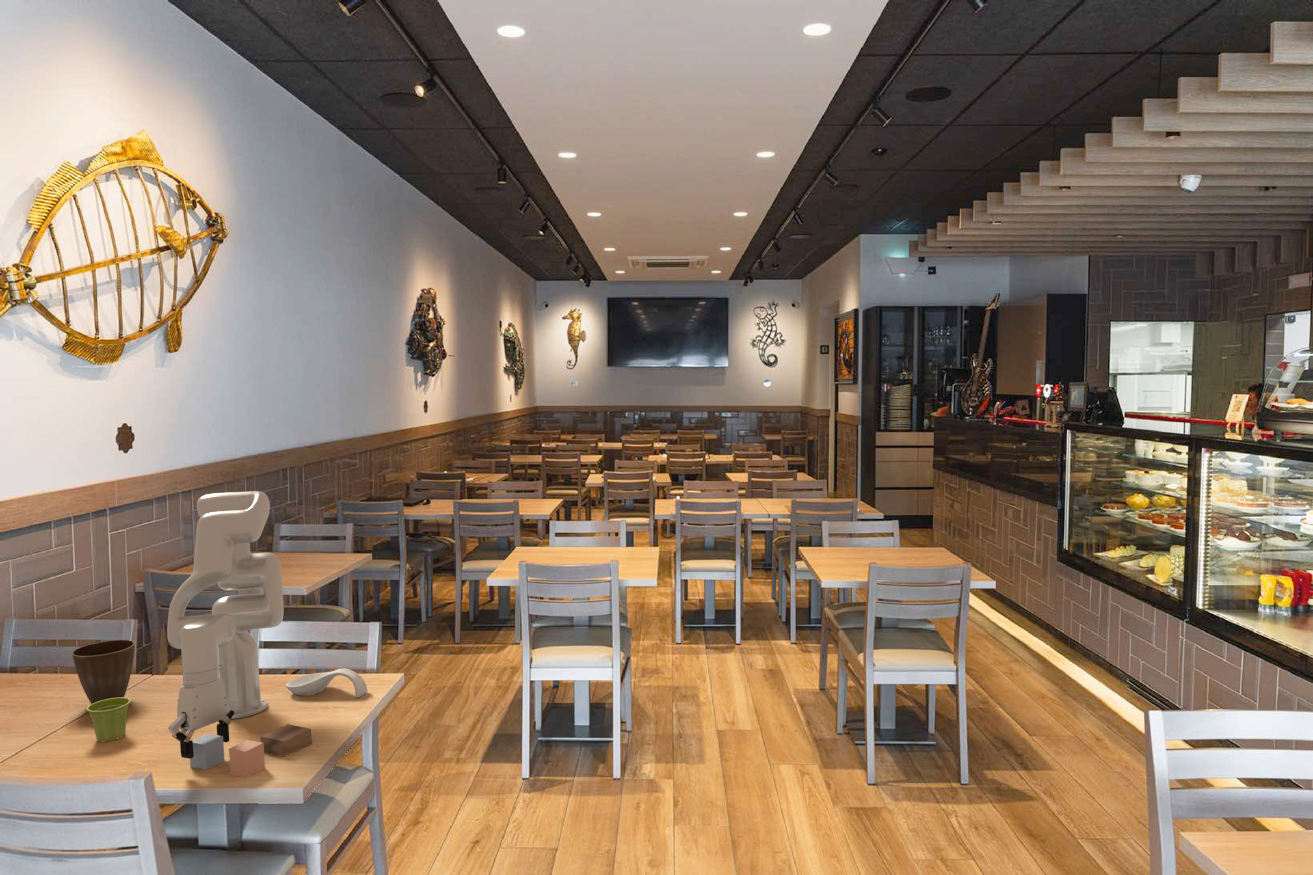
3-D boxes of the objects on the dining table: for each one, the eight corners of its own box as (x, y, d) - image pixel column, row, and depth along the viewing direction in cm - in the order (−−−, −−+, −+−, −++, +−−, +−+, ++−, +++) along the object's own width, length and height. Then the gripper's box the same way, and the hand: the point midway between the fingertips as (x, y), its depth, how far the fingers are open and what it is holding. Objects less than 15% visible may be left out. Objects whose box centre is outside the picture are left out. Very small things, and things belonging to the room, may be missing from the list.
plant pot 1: (149, 698, 246) (145, 643, 245) (92, 716, 233) (88, 658, 232) (122, 690, 254) (118, 637, 253) (66, 707, 241) (61, 651, 240)
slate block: (190, 767, 199) (188, 741, 199) (208, 758, 204) (207, 733, 203) (206, 770, 197) (204, 744, 197) (224, 761, 202) (223, 735, 201)
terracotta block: (230, 774, 194) (228, 748, 194) (248, 765, 199) (246, 739, 199) (247, 777, 192) (245, 751, 192) (265, 768, 197) (263, 742, 197)
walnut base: (261, 752, 206) (260, 736, 206) (289, 739, 214) (288, 723, 213) (284, 757, 203) (283, 741, 203) (312, 744, 210) (311, 728, 210)
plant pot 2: (141, 731, 221) (139, 698, 221) (107, 746, 212) (105, 712, 212) (114, 728, 224) (112, 695, 224) (80, 742, 215) (77, 708, 215)
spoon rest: (277, 698, 243) (276, 673, 242) (304, 684, 254) (303, 660, 254) (351, 703, 237) (350, 677, 237) (375, 688, 248) (374, 664, 248)
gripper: (221, 664, 208) (225, 733, 209) (155, 686, 192) (160, 762, 193) (244, 666, 205) (248, 737, 206) (179, 689, 189) (184, 766, 190)
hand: (205, 749), depth 199 cm, fingers open, 9 cm apart
